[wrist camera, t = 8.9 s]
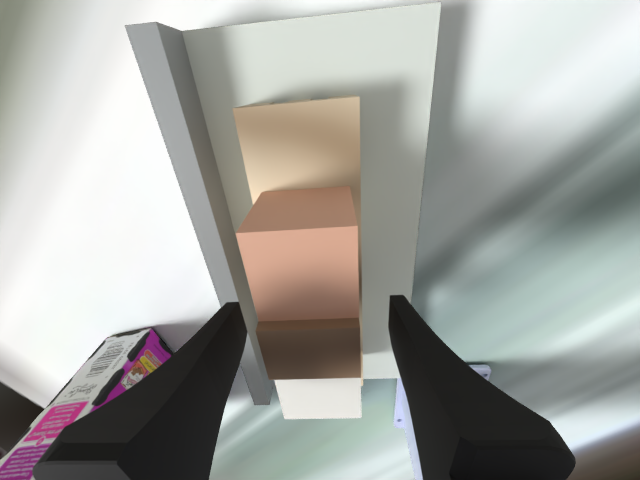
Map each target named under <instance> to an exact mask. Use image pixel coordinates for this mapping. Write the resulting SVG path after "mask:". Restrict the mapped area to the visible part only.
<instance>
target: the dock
mask: <svg viewBox="0 0 640 480" xmlns="http://www.w3.org/2000/svg"><path fill="white" fill-rule="evenodd" d="M440 11H441V2H435V3H426V4H418V5H409V6H400V7H391V8H382V9H373V10H364V11H355V12H347V13H338V14H329V15H320V16H311V17H302V18H293V19H284V20H275V21H267V22H258V23H249V24H240V25H231V26H222V27H213V28H204V29H196V30H187V31H180V30H177V29H175V28H172V27H169V26H166V25H163V24H161V23H158V22H150V23H142V24H133V25H125V28H126V31H127V34H128V37H129V40H130V43H131V45H132V48H133V51H134V54H135V57H136V60H137V63H138V66H139V69H140V72H141V75H142V78H143V81H144V83H145V86H146V89H147V92H148V95H149V98H150V101H151V104H152V107H153V110H154V113H155V116H156V119H157V121H158V124H159V127H160V130H161V133H162V136H163V139H164V142H165V145H166V148H167V151H168V154H169V157H170V159H171V162H172V165H173V168H174V171H175V174H176V177H177V180H178V183H179V186H180V189H181V192H182V195H183V197H184V200H185V203H186V206H187V209H188V212H189V215H190V218H191V221H192V224H193V227H194V230H195V233H196V236H197V238H198V241H199V244H200V247H201V250H202V253H203V256H204V259H205V262H206V265H207V268H208V271H209V274H210V276H211V279H212V282H213V285H214V288H215V291H216V294H217V297H218V300H219V303H220V306H221V307H222V306H223V305H224V304H225V303H226V302H239V304H240V307H241V311H242V314H243V318H244V321H245V324H246V328H247V331H248V333H247V338H246V343H245V348H244V352H243V355H242V358H241V361H240V364H241V367H242V370H243V373H244V376H245V379H246V382H247V385H248V388H249V390H250V393H251V396H252V399H253V402H254V405H270V399H271V394H272V389H273V383H274V380H269V379H268V375H267V371H266V368H265V364H264V361H263V357H262V353H261V350H260V346H259V343H258V339H257V335H256V332H255V331H256V328H257V324H258V317H257V313H256V309H255V306H254V302H253V298H252V294H251V290H250V286H249V283H248V279H247V275H246V271H245V267H244V264H243V260H242V256H241V252H240V248H239V245H238V241H237V237H236V232H237V230H238V229H239V227H240V225H241V224H242V222H243V221H244V219H245V218H246V216H247V214H248V213H249V211H250V210H251V208H252V206H253V202H252V198H251V193H250V188H249V184H248V179H247V174H246V170H245V165H244V160H243V156H242V151H241V147H240V142H239V137H238V133H237V128H236V123H235V119H234V114H233V109H232V108H236V107H240V106H244V105H249V104H259V103H270V102H273V103H285V102H288V101H292V100H302V99H312V100H318V99H328V98H329V97H335V96H346V95H356V96H359V97H360V172H361V253H362V334H363V379H384V378H401V377H400V374H399V370H398V367H397V364H396V360H395V357H394V354H393V350H392V346H391V341H390V335H389V329H388V319H389V300H390V295H404V296H405V297H406V298H407V300H408V301H409V303H410V304H411V298H412V288H413V278H414V268H415V258H416V248H417V238H418V228H419V219H420V209H421V199H422V189H423V179H424V169H425V159H426V150H427V140H428V130H429V120H430V110H431V100H432V90H433V80H434V71H435V61H436V51H437V41H438V31H439V21H440Z"/></svg>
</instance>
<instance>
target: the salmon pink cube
mask: <svg viewBox="0 0 640 480" xmlns="http://www.w3.org/2000/svg"><path fill="white" fill-rule="evenodd" d="M236 237H237V241H238V245H239V248H240V252H241V256H242V260H243V264H244V267H245V271H246V275H247V279H248V283H249V286H250V290H251V294H252V298H253V302H254V306H255V309H256V313H257V317H258V321H285V320H311V319H338V318H359V273H358V225H357V220H356V215H355V210H354V205H353V200H352V195H351V190H350V186H341V187H327V188H313V189H298V190H284V191H270V192H261V194H260V195H259V197H258V199H257V200H256V202H255V203H254V205H253V206H252V208H251V210H250V211H249V213H248V214H247V216H246V218H245V219H244V221H243V222H242V224H241V225H240V227H239V229H238V230H237V232H236Z"/></svg>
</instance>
